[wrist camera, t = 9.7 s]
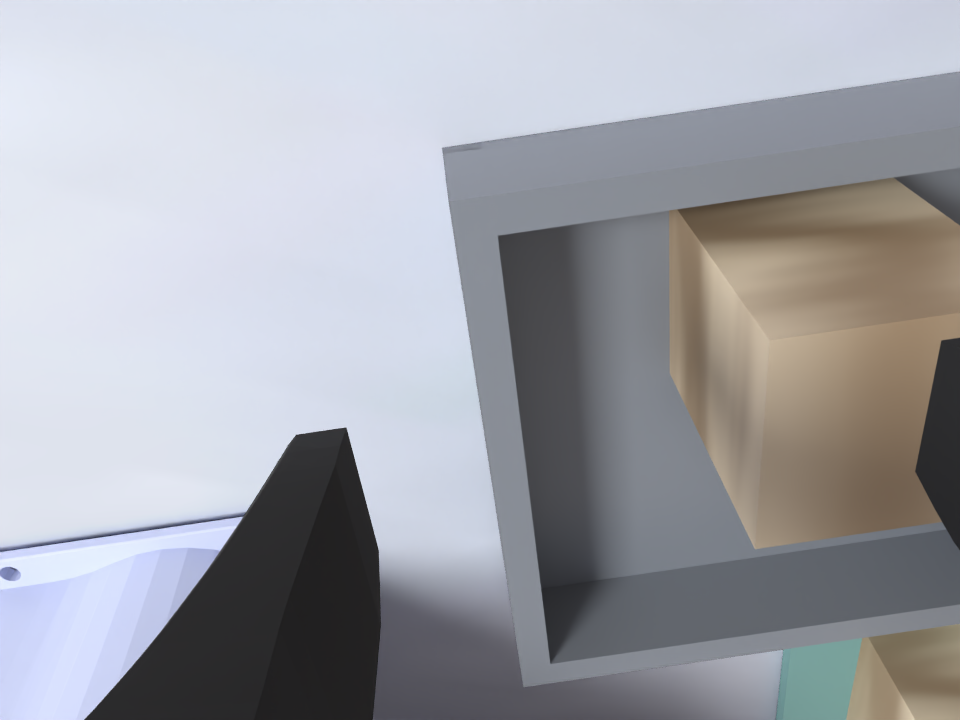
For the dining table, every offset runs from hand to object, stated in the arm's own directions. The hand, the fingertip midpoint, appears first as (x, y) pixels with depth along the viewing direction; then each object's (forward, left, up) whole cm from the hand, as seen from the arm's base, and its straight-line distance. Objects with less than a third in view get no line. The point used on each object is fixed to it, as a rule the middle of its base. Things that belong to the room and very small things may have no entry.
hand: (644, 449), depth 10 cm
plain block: (+5, -3, -9) cm, 11 cm away
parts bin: (+5, -6, -9) cm, 12 cm away
